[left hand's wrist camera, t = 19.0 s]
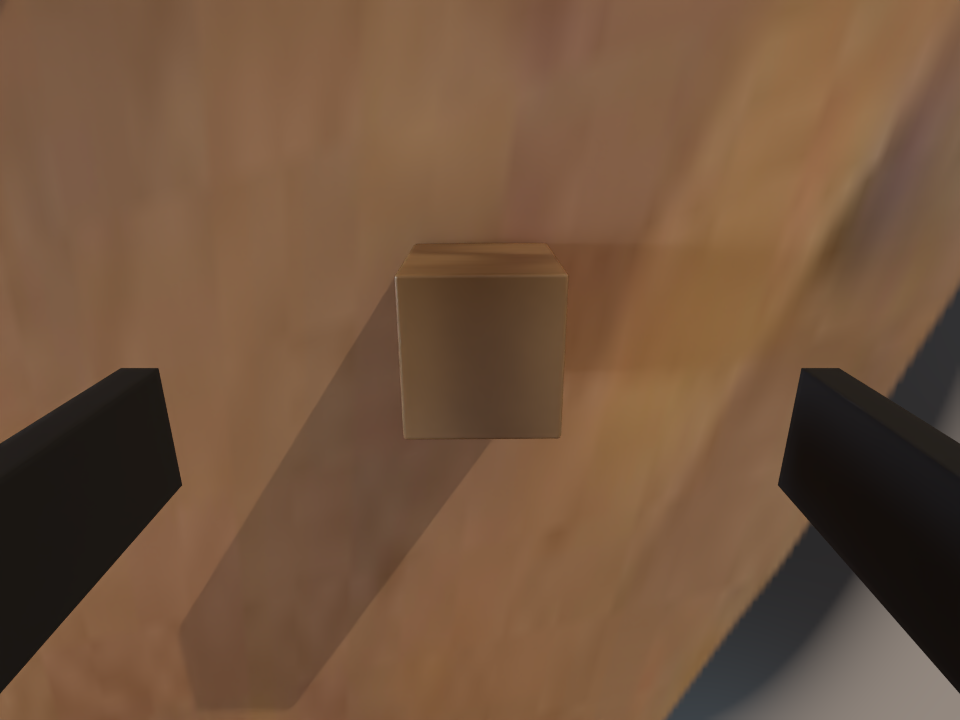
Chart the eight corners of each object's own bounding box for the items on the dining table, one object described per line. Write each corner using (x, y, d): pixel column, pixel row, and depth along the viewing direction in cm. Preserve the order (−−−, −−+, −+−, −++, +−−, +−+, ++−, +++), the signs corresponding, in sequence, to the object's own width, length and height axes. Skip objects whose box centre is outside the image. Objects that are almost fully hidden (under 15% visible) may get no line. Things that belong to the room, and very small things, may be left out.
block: (419, 375, 20) (403, 440, 16) (413, 243, 19) (393, 274, 14) (543, 374, 20) (561, 439, 16) (547, 242, 19) (568, 273, 14)
